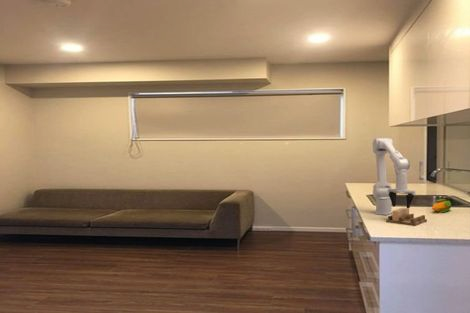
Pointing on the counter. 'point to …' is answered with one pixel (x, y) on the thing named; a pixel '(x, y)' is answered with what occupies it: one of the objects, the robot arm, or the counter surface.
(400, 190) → the robot arm
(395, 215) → the clay bar
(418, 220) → the drying rack
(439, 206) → the corn
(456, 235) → the counter surface
